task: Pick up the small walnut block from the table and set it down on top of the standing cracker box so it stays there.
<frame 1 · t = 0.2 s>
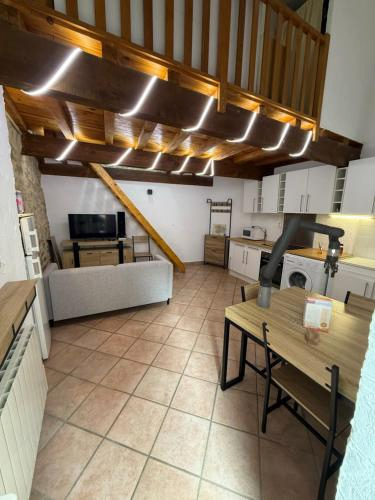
hand: (329, 275, 151), 29 cm above the table, fingers open, 8 cm apart
cracker box: (314, 328, 133), on the table
walnut block: (311, 342, 118), on the table
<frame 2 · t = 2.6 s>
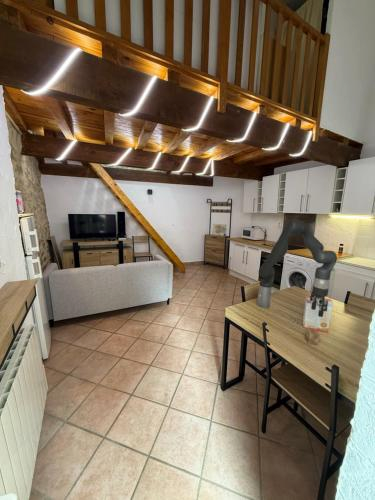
hand: (316, 312, 115), 18 cm above the table, fingers open, 8 cm apart
nothing on the table moved.
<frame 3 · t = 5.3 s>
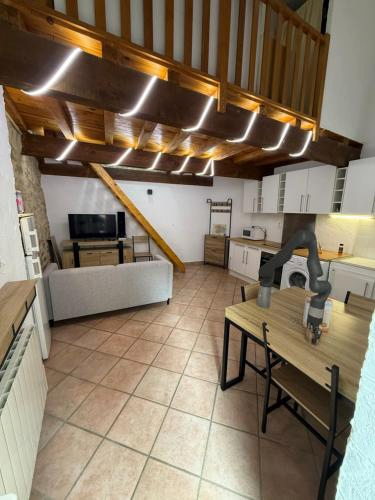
hand: (311, 340, 118), 1 cm above the table, fingers closed on walnut block, 5 cm apart
walnut block: (311, 342, 118), on the table, touching gripper
everything else where it was.
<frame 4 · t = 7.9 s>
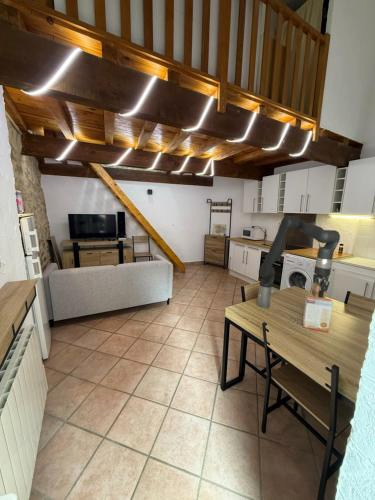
hand: (318, 294, 115), 29 cm above the table, fingers closed on walnut block, 5 cm apart
walnut block: (318, 296, 115), point 28 cm above the table, touching gripper
everything else where it was.
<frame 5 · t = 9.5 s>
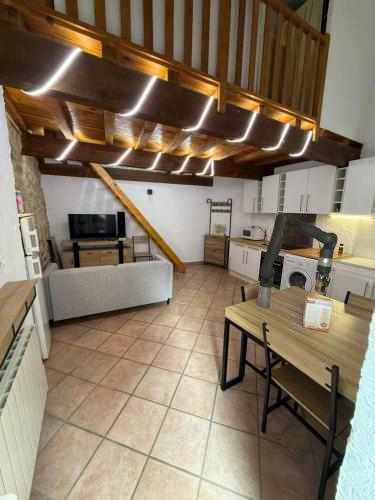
hand: (320, 290, 129), 27 cm above the table, fingers closed on walnut block, 5 cm apart
walnut block: (320, 291, 129), point 26 cm above the table, touching gripper
everything else where it was.
when the fingers open (23 cm above the table, at t = 10.9 s): walnut block drops 1 cm, resting on cracker box.
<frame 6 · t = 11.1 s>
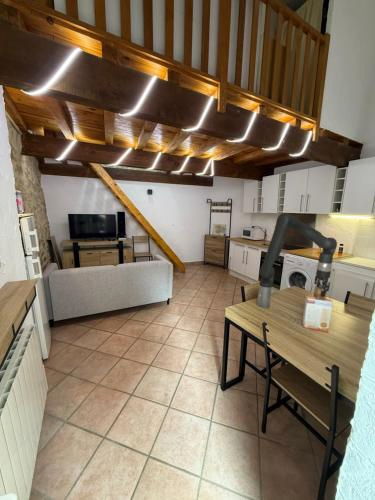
hand: (319, 294, 129), 24 cm above the table, fingers open, 7 cm apart
cracker box: (314, 328, 133), on the table, touching walnut block
walnut block: (319, 298, 130), point 21 cm above the table, touching cracker box
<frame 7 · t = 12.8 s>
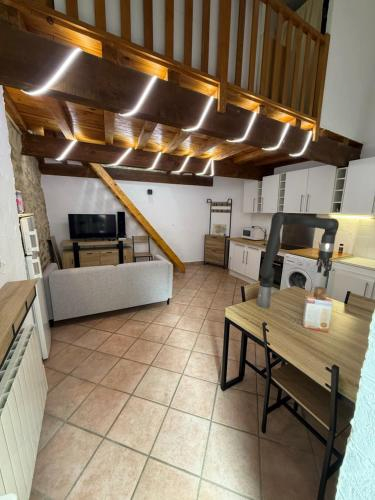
hand: (322, 274, 131), 36 cm above the table, fingers open, 8 cm apart
nothing on the table moved.
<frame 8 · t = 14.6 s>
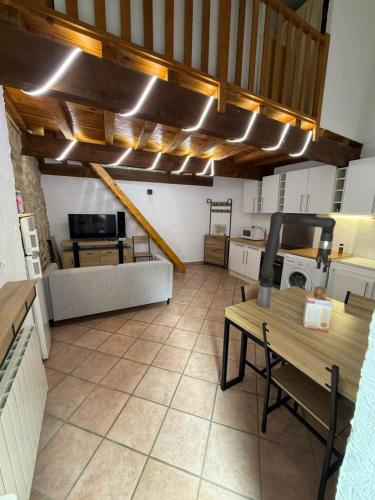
hand: (321, 270, 139), 36 cm above the table, fingers open, 8 cm apart
nothing on the table moved.
at the end: walnut block 0.1 cm from the cracker box (horizontally); walnut block point 20.9 cm above the table; walnut block tilted 0° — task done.
